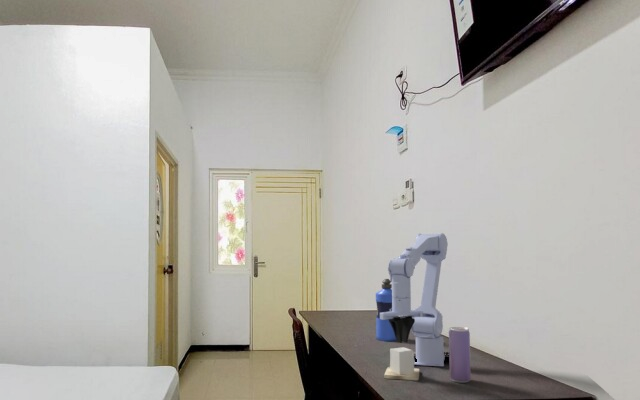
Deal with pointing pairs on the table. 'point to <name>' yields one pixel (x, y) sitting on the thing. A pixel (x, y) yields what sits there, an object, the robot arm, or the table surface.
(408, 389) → the table surface
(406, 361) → the white rectangular block
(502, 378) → the table surface
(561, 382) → the table surface
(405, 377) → the beige square base
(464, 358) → the beverage can
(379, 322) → the water bottle
